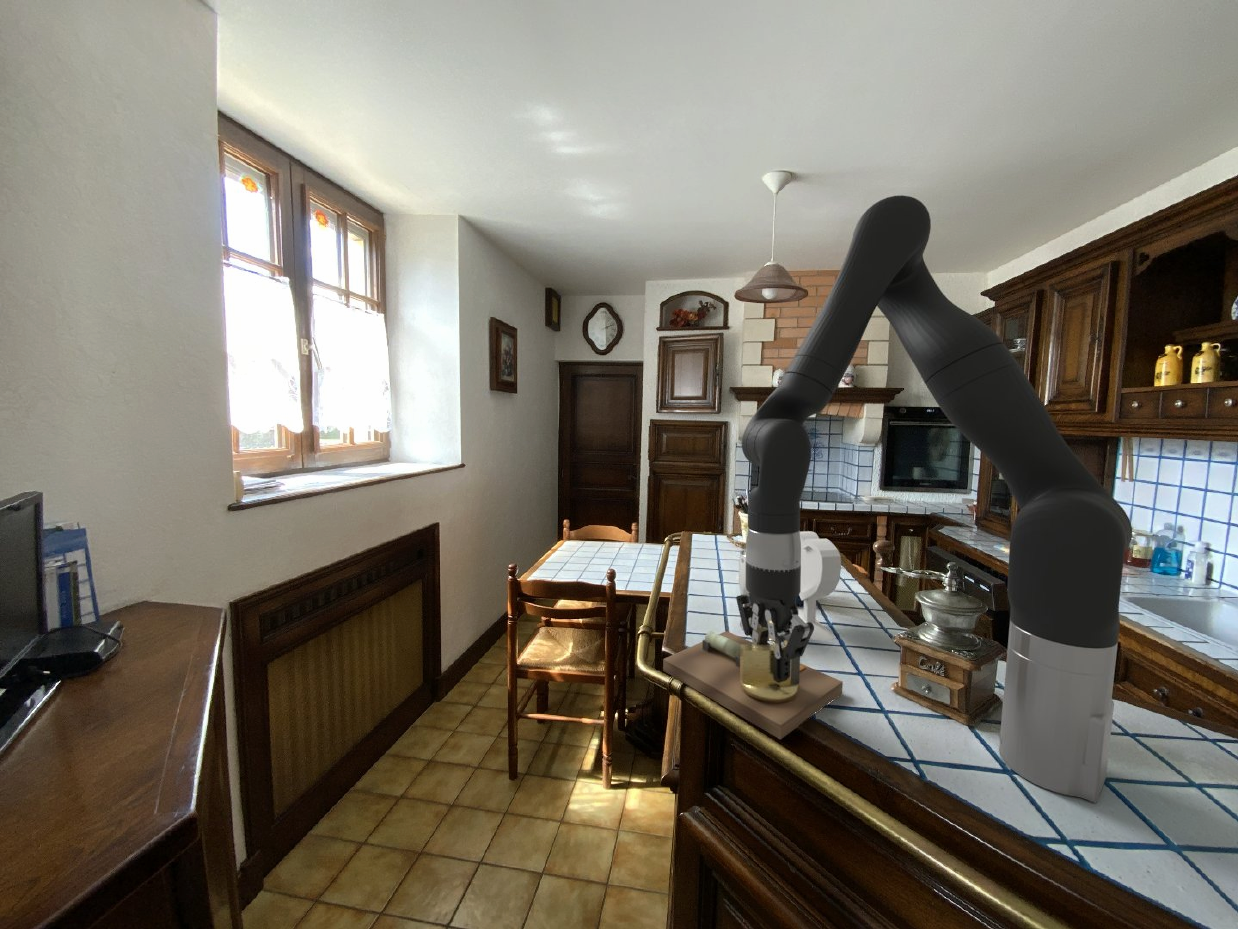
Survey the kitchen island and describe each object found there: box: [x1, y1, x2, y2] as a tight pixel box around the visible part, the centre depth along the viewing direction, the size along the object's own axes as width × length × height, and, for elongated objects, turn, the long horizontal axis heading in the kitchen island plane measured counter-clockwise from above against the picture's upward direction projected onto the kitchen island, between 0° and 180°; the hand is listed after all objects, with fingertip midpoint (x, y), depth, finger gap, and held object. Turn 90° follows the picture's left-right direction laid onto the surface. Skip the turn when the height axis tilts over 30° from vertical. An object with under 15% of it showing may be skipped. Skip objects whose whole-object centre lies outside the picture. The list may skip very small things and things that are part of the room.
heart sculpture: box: [798, 530, 842, 642], centre depth 97 cm, size 16×5×18 cm, turn 5°
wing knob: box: [740, 644, 801, 703], centre depth 72 cm, size 8×8×6 cm
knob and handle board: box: [662, 630, 843, 740], centre depth 77 cm, size 22×16×5 cm
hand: (771, 673), depth 72 cm, fingers closed on wing knob, 3 cm apart
